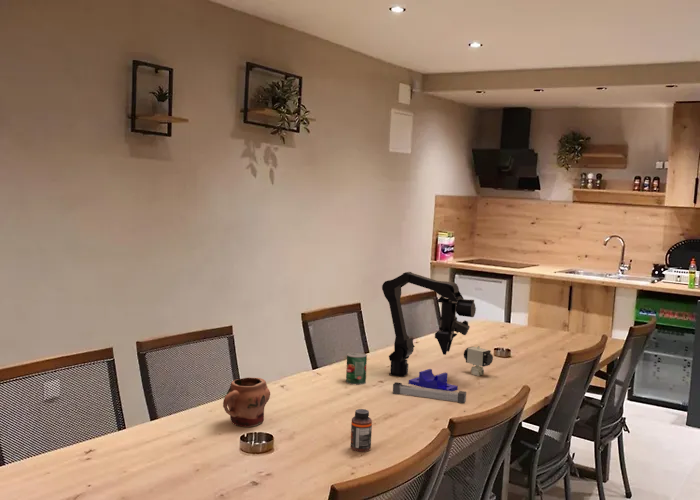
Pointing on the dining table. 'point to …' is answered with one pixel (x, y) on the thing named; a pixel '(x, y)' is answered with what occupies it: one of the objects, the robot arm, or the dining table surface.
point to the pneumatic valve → (478, 359)
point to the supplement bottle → (361, 431)
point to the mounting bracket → (433, 381)
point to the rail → (429, 393)
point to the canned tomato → (356, 368)
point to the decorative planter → (247, 401)
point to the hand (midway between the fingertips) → (446, 353)
